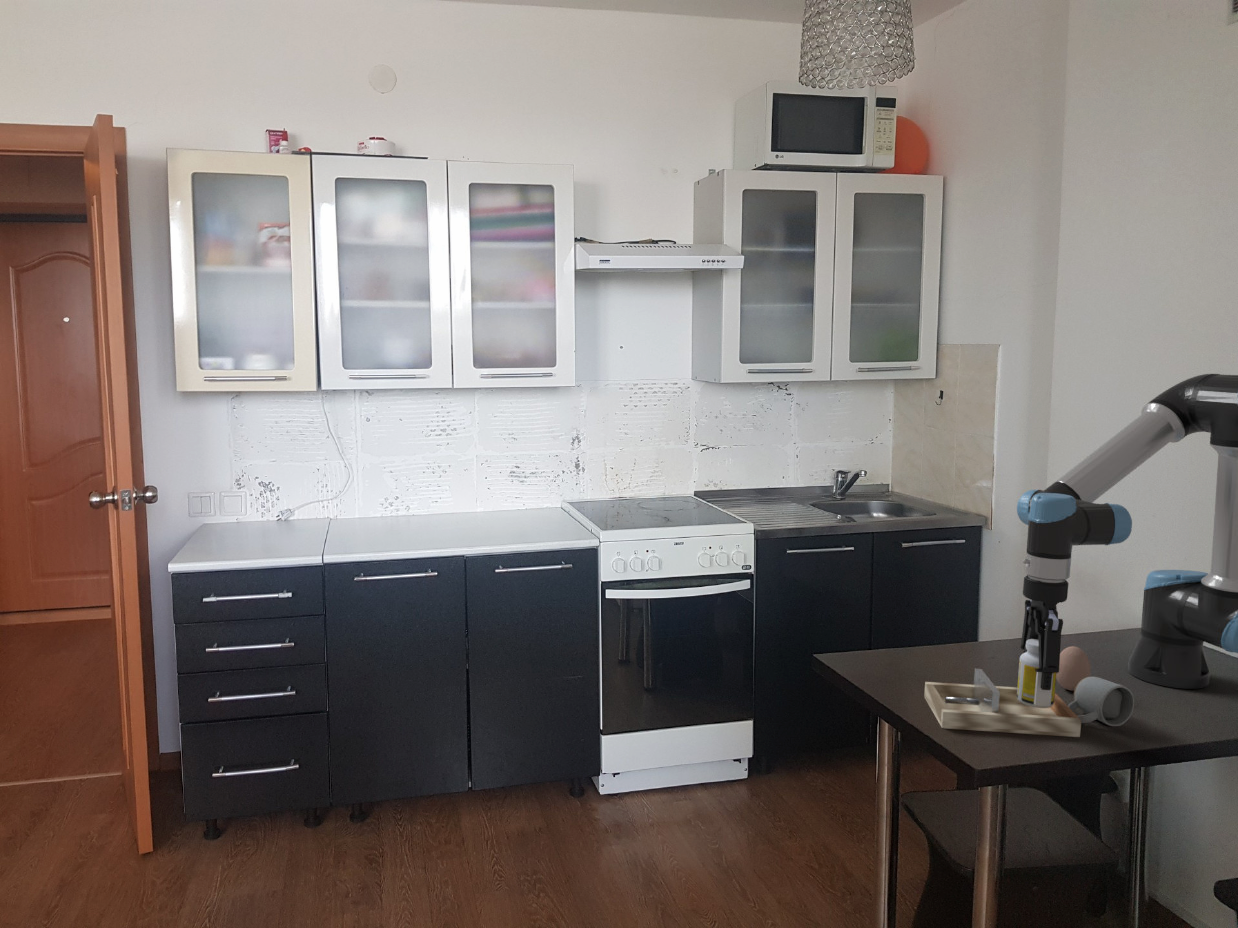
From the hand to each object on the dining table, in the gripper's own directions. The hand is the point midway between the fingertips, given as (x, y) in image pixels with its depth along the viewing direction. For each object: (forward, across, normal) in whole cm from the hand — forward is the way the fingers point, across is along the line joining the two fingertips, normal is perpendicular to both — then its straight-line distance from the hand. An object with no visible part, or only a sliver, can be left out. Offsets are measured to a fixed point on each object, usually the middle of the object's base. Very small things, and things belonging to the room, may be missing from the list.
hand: (1035, 697), depth 179 cm
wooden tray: (+4, 0, -6) cm, 8 cm away
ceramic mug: (+4, -2, +12) cm, 13 cm away
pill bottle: (+1, 0, 0) cm, 1 cm away
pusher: (+3, 0, -12) cm, 13 cm away
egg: (+4, -17, +12) cm, 22 cm away
